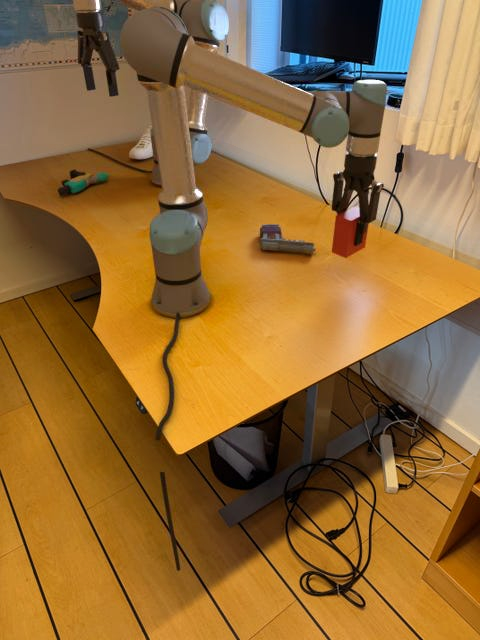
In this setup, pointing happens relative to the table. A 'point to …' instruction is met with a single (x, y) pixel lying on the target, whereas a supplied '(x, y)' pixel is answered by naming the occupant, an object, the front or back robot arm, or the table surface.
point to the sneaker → (142, 147)
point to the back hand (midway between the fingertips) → (102, 93)
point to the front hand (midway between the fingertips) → (349, 240)
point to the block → (347, 233)
